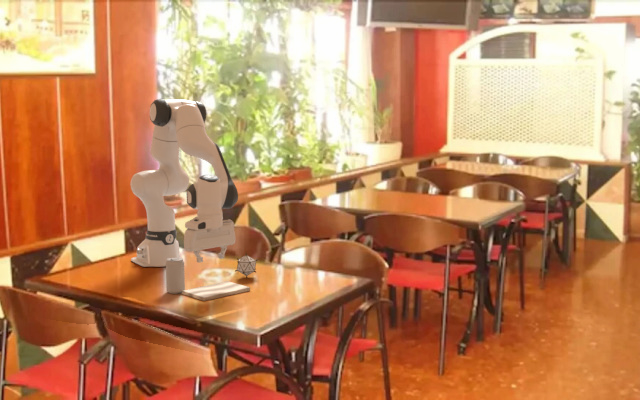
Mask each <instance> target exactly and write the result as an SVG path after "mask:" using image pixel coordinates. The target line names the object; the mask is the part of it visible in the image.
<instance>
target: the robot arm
mask: <svg viewBox="0 0 640 400" xmlns="http://www.w3.org/2000/svg"><path fill="white" fill-rule="evenodd" d="M149 119H150V121H151V123H152V124H153V125H154V127H153V131H152V138H151V146H150V155H151V157H152V158H153V159H154V160H155V161H157V162H158V163H159V167H158V169H151V170H150V169H148V170H142V171H139V172H136V173H135V174H133V175H132V177H131V179H130V184H129V185H130V190H131V192H132V193H133V195H134V196H135V197H137V198H139V200H140V201H141V203H142V204H143V206H144V208H145V211H146V219H147V230H146V231H145V239H144V240H142V241H141V243H140V244H138V246H137V248H136V256H134V257H131V258H130V261H131V262H133V263H135V264H136V265H139V266H141V267H144V268H146V267H148V268H149V267H160V268H161V267H166V262H167V259H169V258H182V257H181V253H180V245H179V241H178V240H177V237H178V236H177V233H178V232H177V229H176V220H175V219H176V215H175V214H176V212H175V210H174V208H172V207H171V206H170V205H167V204H166V202H165V198H164V196H173V195H174V196H176V195H179V194H180V193H184V192H186V203H187V205H188V206H189V207H190V208H192V209H193V210H197V213H196V214H197V215H196V216H195V217H193V218H192V219H190V220H188V221H186V222H185V223H184V227H185V229H186V230H185V231H184V235H183V236H184V237H183V247H184V249H185V250H186V251H188V252H193V253H194V256H195V257H196V262H197V263H198V264H199V263H203V262H204V260H203V259H204V257H203V256H201V254H200V253H201V251H204V250H208V249H214V248H220V252H218V254H217V255H218V259H221V260H222V259H225V256H226V255H225V254H226V251H227V249H228V246H233V245H234V244H235V243H236V233H235V223H234V221H233V220H231V219H230V218H228V219H224V217H223V210H224V209H225V210H230V209H232V208H233V207H234V206H235V205H236V204H237V202H238V200H239V192H238V188H237V186H236V185H235V183H234V180H233V179H232V177H231V174H230V172H229V168H228V166H227V164H226V161H225V159H224V156H223V153H222V151H221V149H220V147H219V145H218V144H217V143H215V142H214V141H213V140H212V139H211V138H210V137H209V135H208V134H207V130H206V126H205V122H206V120H207V108H206V106H205V105H204V103H203V102H200V101H198V100H189V99H181V98H178V99H175V98H173V99H172V98H171V99H170V98H168V99H167V98H166V99H164V98H158V99H154V101H152V103H151V104H150V107H149ZM180 150H181V151H182V152H183V153H185V154H187V155H188V156H190V157H194V158H196V159H197V158H198V159H200V160H203V161H206V163H207V162H208V163H209V164H210V165H211V167H212V168H213V171H214V173H215V175H214V174H213V175H212V174H204V175H201V176H199V177H198V178H197V181H196V182H195V183H191V184H190V178H189V175H188V173H187V172H186V170H184V169H183V168H182V166H181V164H180V160H179V159H180V158H179V157H180V156H179V155H180ZM189 184H190V185H189Z"/></svg>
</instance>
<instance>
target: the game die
mask: <svg viewBox="0 0 640 400" xmlns="http://www.w3.org/2000/svg"><path fill="white" fill-rule="evenodd" d="M236 260H237V261H236V262H237V267H236V269H235V271H234V272H238V273H240V274H242V275H243V276H245V278H246V279H247V278H248V276H249V275H251V274H253V273H257V271H256V270H257V269H256V265H257V262H258V260H259V259H255V258H253V257H252V256H250V255H248V253H247V252H245V255H244V256H242V257H240V258H238V257H237V258H236Z"/></svg>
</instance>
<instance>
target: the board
mask: <svg viewBox="0 0 640 400" xmlns="http://www.w3.org/2000/svg"><path fill="white" fill-rule="evenodd" d="M249 291H251V287H250V286H248V285H247V286H246V285H242V284H239V283H235V282H231V281H229V280H227V281H223V282H217V283H212V284H207V285H204V286H198V287H193V288H188V289H185V290H183V291H182V293H181V294H182V295H184V296H187V297H190V298H193V299H197V300H200V301H202V302H205V301H212V300H214V299H218V298H223V297H229V296H232V295H233V296H234V295H236V294H241V293H246V292H249Z"/></svg>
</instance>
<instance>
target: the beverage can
mask: <svg viewBox="0 0 640 400" xmlns="http://www.w3.org/2000/svg"><path fill="white" fill-rule="evenodd" d="M165 281H166V282H165V284H166V285H165V286H166V287H165V288H166V292H167V293H169V294H172V295H177V294H182V291H183V290H186V285H185V284H186V283H185V261H184V258H183V257H181V258H169V259H167V262H166V266H165Z"/></svg>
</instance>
